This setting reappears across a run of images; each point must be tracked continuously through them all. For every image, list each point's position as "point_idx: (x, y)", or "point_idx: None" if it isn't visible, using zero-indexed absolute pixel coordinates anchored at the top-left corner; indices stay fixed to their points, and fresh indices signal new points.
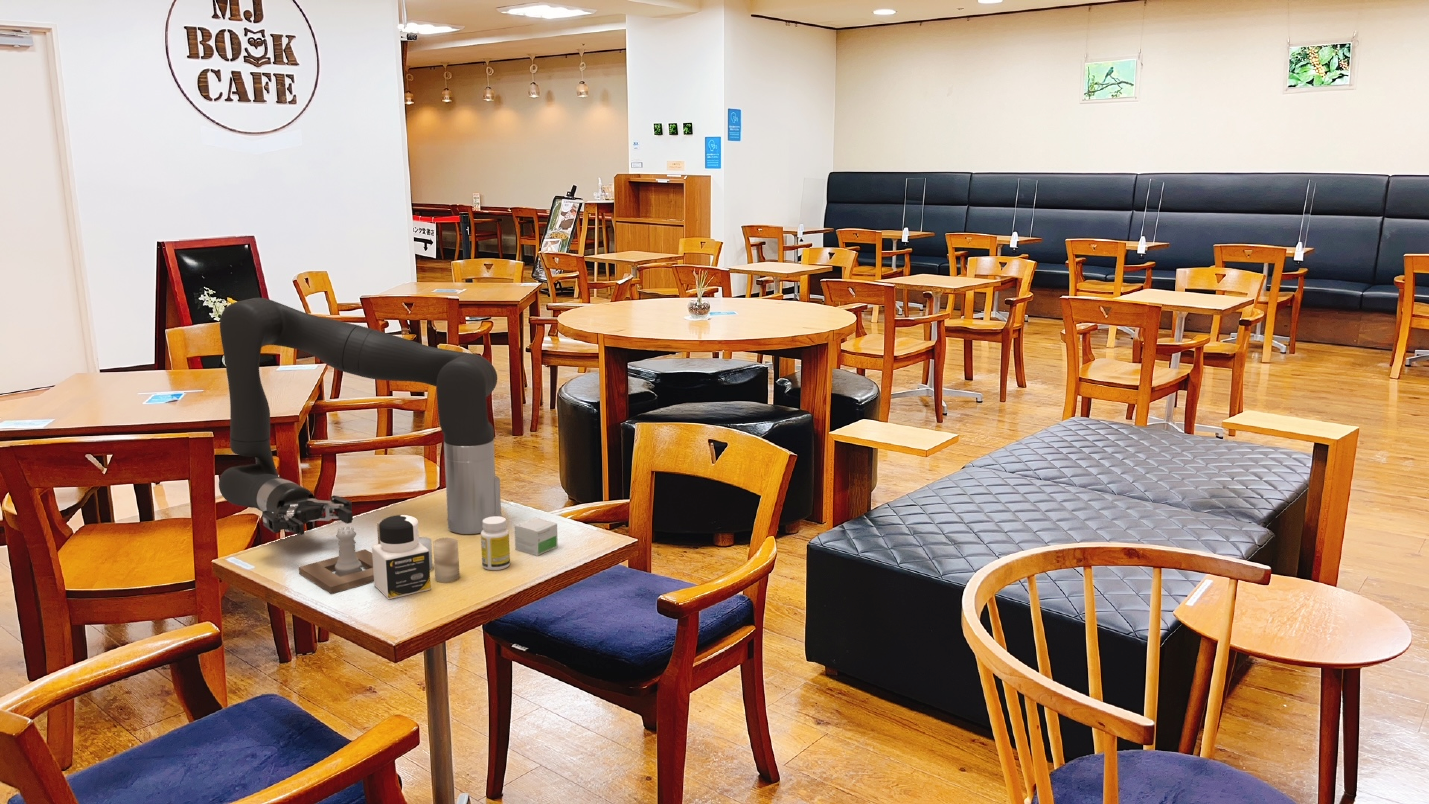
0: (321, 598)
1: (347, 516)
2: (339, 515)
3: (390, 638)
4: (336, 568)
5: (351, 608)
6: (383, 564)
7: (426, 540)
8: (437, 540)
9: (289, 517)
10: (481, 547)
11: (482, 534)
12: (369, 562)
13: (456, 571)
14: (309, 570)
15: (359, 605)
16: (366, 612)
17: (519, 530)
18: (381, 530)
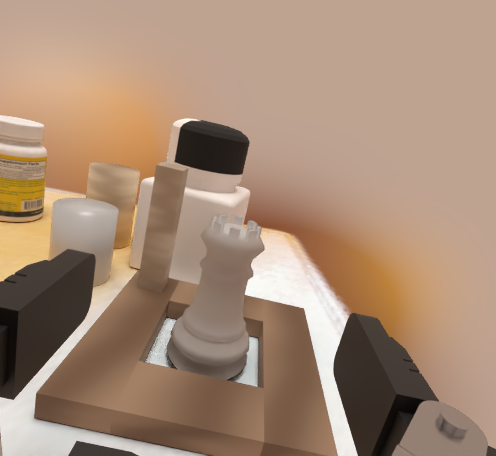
0: (323, 325)
1: (93, 272)
2: (31, 350)
3: (290, 237)
4: (248, 342)
5: (293, 281)
6: (245, 208)
7: (75, 201)
8: (116, 172)
9: (436, 410)
10: (31, 182)
11: (39, 152)
12: (147, 321)
13: None
14: (313, 402)
15: (278, 278)
16: (281, 266)
17: None
18: (247, 149)
